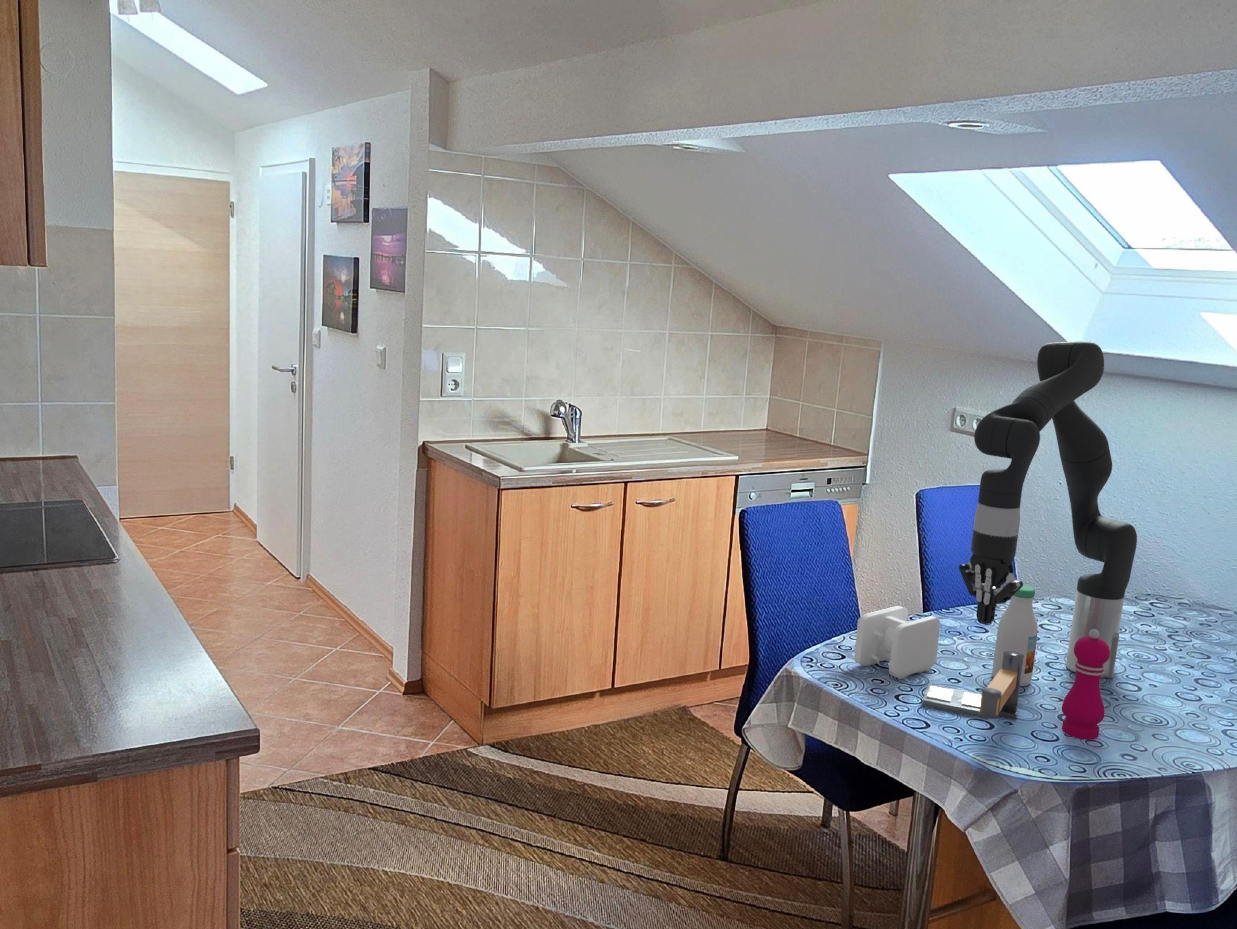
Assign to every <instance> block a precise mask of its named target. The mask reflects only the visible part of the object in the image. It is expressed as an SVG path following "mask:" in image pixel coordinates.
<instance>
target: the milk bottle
mask: <svg viewBox="0 0 1237 929" xmlns="http://www.w3.org/2000/svg"><path fill="white" fill-rule="evenodd" d="M1035 594H1036V589H1035V588H1034V587H1032V586H1029V585H1024V584H1023V586H1022V587H1021V588H1020V589H1019V590H1018V591H1017V592H1016V593H1015V594H1014V595H1013V596H1012V597H1011V598H1010V599H1009V600H1010V601H1009V603H1008V605H1007V607H1006V608H1005V610H1004V611H1003V613H1002V615H1001V617H1000V619H999V621H998V622H999V623H998V626H997V633H996V637H995V638H996V640H995V645H994V646H995V647H994V655H993V663H992V668H991V669H992V671H991V672H992V673H991V675H992V679H994V677H995V676H996V675H997V673H998V672H999V671H1000V669H1001V668H1002V661H1003V653H1004V651H1016V652H1019V653H1022V654H1023V655H1024V658H1023V666H1022V673H1021V681H1020V687H1024V686H1028V685H1030V684H1031V682H1032V677H1033V672H1034V665H1035V656H1036V650H1037V649H1036V648H1037V640H1038V633H1039V632H1038V622H1037V618H1036V615H1035V612H1034V606H1033V601H1034V599H1035V596H1036V595H1035Z"/></svg>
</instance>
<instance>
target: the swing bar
mask: <svg viewBox="0 0 1237 929" xmlns="http://www.w3.org/2000/svg"><path fill="white" fill-rule="evenodd" d="M1016 681H1017V672H1013V671H1009V670H1005V669H1000V671H999V672H998V673H997V675H996V676H995V677H994V678H992V680H991V681H990V683H989V684H988V685H987V687H983V688H982V690H981V694H982V695H981V703H980V715H981V716H983V717H985V718H988V719H991V720H997V719H999V717H1000V716H999V712H1000V710H1001V709H1002V707H1003V706H1004V704H1005V703H1006V701H1007V700H1008V698H1009V697H1010V695H1011V694H1012V692H1013V691H1014V689H1015V688H1016ZM985 718H984V719H985Z"/></svg>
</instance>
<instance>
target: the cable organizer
mask: <svg viewBox="0 0 1237 929" xmlns="http://www.w3.org/2000/svg"><path fill="white" fill-rule="evenodd" d="M908 616H909V611H908V609H907V608H905V607H904V606H903V607H902V606H900V605H894V606H891V607H887V608H883V609H879V610H878V609H877V610H875V611H872V612H867V613H864V614H862V615H861V616H860V617H859V618H858V619H857V624H856V625H857V626H856V628H857V629H856V635H855V645H854V646H855V647H854V655H853V659H854V661H855V663H856V664H860V666H861V665H862V666H864V667H869V666H873V665H875V664H878V666H880V662H882V661H883V662H884V661H888V667H887V669H889V670H888V673H889V674H890V675H891V676H892V677H893V678H894V677H895V678H896V679H899V680H903V679H905V678H907V677H909V676H910V675H913V674H916V673H919V674H920V673H923V672H926V671H928V670H929V669H931V668H932V667H933V666H934V665H935V663H936V662H937V658H938V650H939V648H938V647H939V642H940V631H941V620H940V618H938V617H935V616H931V615H929V616H927V617H922V618H919V619H916V620H915V619H914V620H911V621H908V618H909V617H908Z"/></svg>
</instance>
